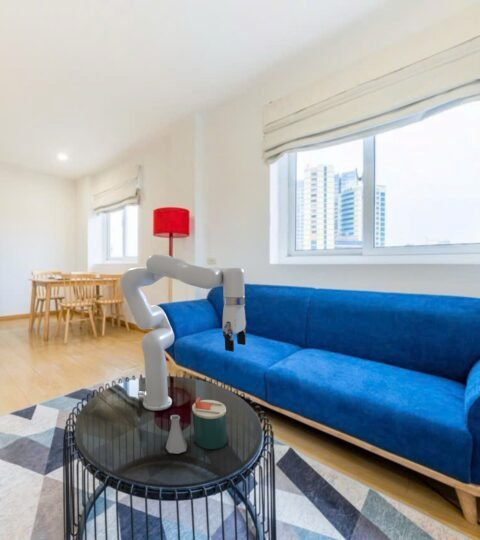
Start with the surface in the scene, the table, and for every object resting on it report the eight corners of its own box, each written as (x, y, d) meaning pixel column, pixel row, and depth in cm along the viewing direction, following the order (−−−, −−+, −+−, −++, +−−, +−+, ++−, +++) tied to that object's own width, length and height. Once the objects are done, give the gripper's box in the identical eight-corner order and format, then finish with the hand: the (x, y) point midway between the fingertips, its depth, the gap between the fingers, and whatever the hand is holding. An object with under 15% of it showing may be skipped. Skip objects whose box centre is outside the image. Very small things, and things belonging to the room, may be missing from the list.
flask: (164, 441, 98) (163, 412, 98) (185, 439, 98) (184, 410, 98) (166, 455, 91) (165, 424, 90) (189, 453, 91) (188, 422, 91)
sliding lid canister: (190, 446, 95) (188, 412, 94) (197, 427, 105) (195, 396, 105) (225, 452, 91) (223, 416, 91) (229, 431, 102) (227, 400, 101)
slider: (195, 408, 97) (195, 402, 97) (198, 403, 101) (197, 396, 101) (209, 410, 96) (209, 404, 96) (211, 404, 100) (211, 398, 100)
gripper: (235, 298, 115) (236, 340, 115) (213, 303, 102) (214, 351, 102) (253, 299, 110) (254, 343, 110) (233, 305, 97) (234, 355, 97)
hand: (235, 347), depth 106 cm, fingers open, 9 cm apart
